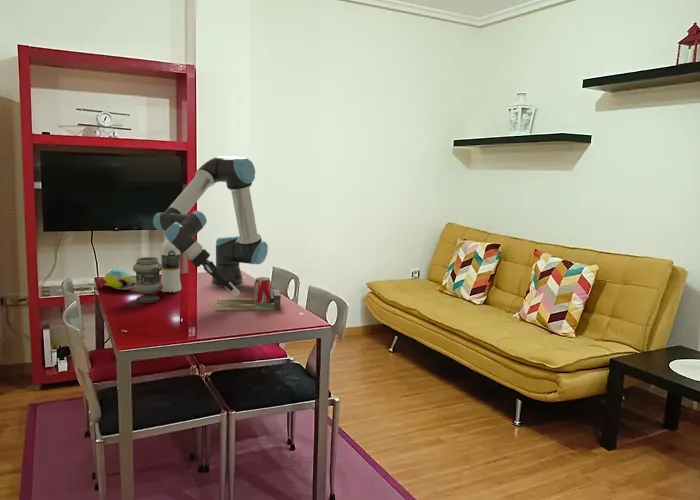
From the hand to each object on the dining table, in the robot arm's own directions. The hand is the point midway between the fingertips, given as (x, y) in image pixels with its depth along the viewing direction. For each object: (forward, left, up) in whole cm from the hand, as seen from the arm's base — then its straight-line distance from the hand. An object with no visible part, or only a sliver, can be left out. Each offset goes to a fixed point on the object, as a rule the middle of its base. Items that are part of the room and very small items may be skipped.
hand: (237, 294), depth 235 cm
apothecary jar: (-13, -38, -5) cm, 40 cm away
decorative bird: (-39, -51, -5) cm, 64 cm away
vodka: (-31, -31, -5) cm, 44 cm away
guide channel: (0, +4, -5) cm, 7 cm away
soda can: (0, +10, -5) cm, 11 cm away
